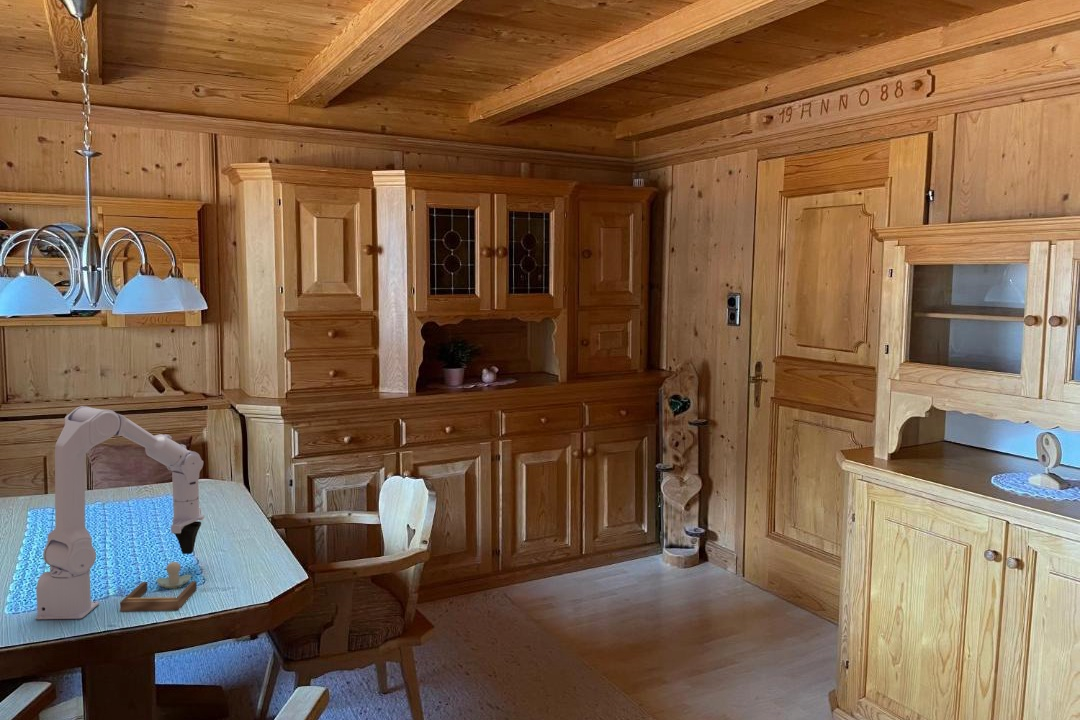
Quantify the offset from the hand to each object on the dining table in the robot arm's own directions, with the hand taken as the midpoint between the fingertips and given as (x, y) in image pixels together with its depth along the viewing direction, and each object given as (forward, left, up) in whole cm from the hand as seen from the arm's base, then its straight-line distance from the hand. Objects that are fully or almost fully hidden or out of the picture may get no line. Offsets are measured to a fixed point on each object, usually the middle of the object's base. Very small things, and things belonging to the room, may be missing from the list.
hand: (187, 553), depth 192 cm
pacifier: (0, -9, -5) cm, 10 cm away
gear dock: (0, -17, -5) cm, 18 cm away
